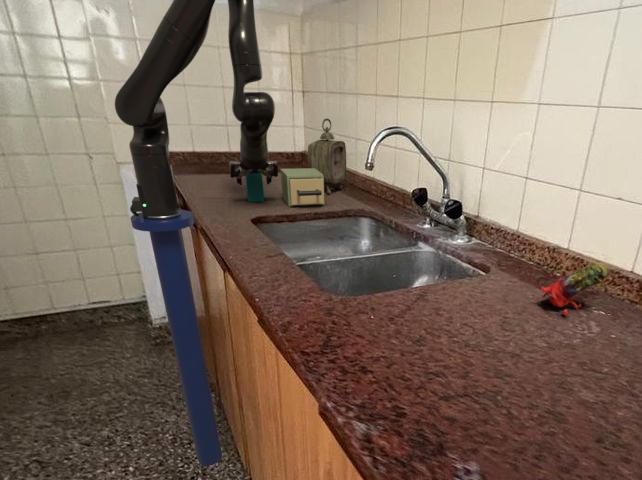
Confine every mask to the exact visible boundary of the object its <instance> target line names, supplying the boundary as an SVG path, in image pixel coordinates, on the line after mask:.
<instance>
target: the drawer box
mask: <svg viewBox="0 0 642 480" xmlns="http://www.w3.org/2000/svg"><path fill="white" fill-rule="evenodd" d="M289 178H323V186H324V175H323V174H322V173H320V172H319V171H318V170H316V169H315V168H308V167H307V168H305V167H304V168H302V167H301V168H280V181H281V193H282V199H283V201H284V202H285V203H286V204H287V206H288V207H290V208H291V207H308V206H309V207H310V206H311V207H312V206H313V207H314V206H325V205H326V203H325V202H326V201H325V200H324V204H305V205H291V197H290V182H289ZM324 187H325V186H324Z"/></svg>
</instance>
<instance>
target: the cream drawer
mask: <svg viewBox="0 0 642 480" xmlns="http://www.w3.org/2000/svg"><path fill="white" fill-rule="evenodd" d="M289 182H290V197H291V205H305V204H324V203H325V202H324V201H325V190H324V187H325V186H323V178H289Z"/></svg>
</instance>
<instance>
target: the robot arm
mask: <svg viewBox="0 0 642 480" xmlns="http://www.w3.org/2000/svg"><path fill="white" fill-rule="evenodd" d="M215 3H216V0H172V1H171V4H170V6H169V7H168V9H167V11H166V12H165V14H164V16H163V17H162V19H161V21H160V23H159V24H158V26H157V28H156V29H155V32H154V34H153V36H152V38H151V40H150V42H149V43H148V45H147V47H146V49H145V50H144V52H143V55H142V57H141V59H140V60H139V62H138V64H137V66H136V67H135V69H134V70H133V72H132V73H131V74H130V75H129V77H128V78H127V80H125V82H124V83H123V85H122V86H121V87H120V89H119V90H118V92H117V93H116V95H115V98H114V110H115V113H116V115H117V117H118V118H119V120H120V121H121V122H122V123H124V124H125V125H128V126H130V127H132V129H133V133H132V134H133V135H132V138H131V140H130V141H129V150H130V156H131V160H132V165H133V169H134V170H133V171H134V174H135V175H134V176H135V179H136V184H135V185H136V186H135V187H136V191H137V196H133V198H132V200H131V205H130V206H129V210H130V212H131V214H132V215H135V216H136V217H137V216H139V214H138V213H140V212H142V214H143V219H152V220H164V219H172V218H176V217H179V216H180V215H181V214H180V211H179V209H181V206H180V203H179V200H178V194H177V189H176V184H175V183H176V182H175V177H174V173H173V172H174V171H173V167H172V166H173V165H172V161H171V157H170V156H171V155H170V150H169V145H170V132H169V131H170V130H169V125H168V117H167V111H166V108H165V104H164V102H163V100H162V97H161V96H162V95H163V93H164V91H165V89H166V88H167V87H168V85H169V84H170V83H171V82H172V81H173V80H174V79H176V78H177V77H178V76H179V75H180V74H181V73H182V72H183V71H184V70H185V69H186V68H187V67H189V65H190V64H191V63H192V62H193V61H194V59H195V57H196V56H197V55H198V53H199V52H200V49H201V47H202V46H203V44H204V42H205V41H206V39H207V35H208V31H209V27H210V22H211V17H212V13H213V8H214V6H215ZM227 5H228V30H227V31H228V32H227V33H228V35H227V37H228V40H227V41H228V49H229V56H230V62H231V66H232V76H233V87H232V89H233V91H232V98H231V112H232V114H233V116H234V117H235V119H236V121H238V122H240V126H239V130H240V131H239V132H240V139H239V140H240V141H239V147H240V148H239V152H240V160H238V161H237V160H236V161H235V160H234V158H230V159H229V165H228V167H229V168H228V171H229V176H230V178H232V179H233V178H235V179H236V184H237V185H238V184H239V186H242V185H243V183H242V182H243V181H242V179H243V177H245V176H246V175H247V174H248V173H249V174H252V173H261V174H262V176H264V177H265V180H266V185H270V184H271V183H272V180H273V179H272V178H273V177H276V178H277V177H279V169H278V168H279V167H278V160H277V158H272V160H268V153H269V152H268V151H269V148H268V131H269V128H270V126H271V125H272V123H273V121H274V118H275V115H276V114H275V113H276V104H275V100H274V99H273V97H272V96H271V95H270V94H269V93H268V92H264V91H257V92H256V91H245V87H246V85H248V84H251V83H255V82H259V81H261V80H262V79H263V68H262V60H261V55H260V49H259V42H258V35H257V34H258V33H257V27H256V18H255V3H254V0H227ZM269 167H270V168H269ZM271 169H272V170H271Z"/></svg>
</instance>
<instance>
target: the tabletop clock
mask: <svg viewBox="0 0 642 480" xmlns="http://www.w3.org/2000/svg"><path fill="white" fill-rule="evenodd" d="M327 121H328V122H329V127H328V126H325V127H324V125H325V122H327ZM321 128H322V130H323V131H324V132H322V133H321V134H320V137H319V139H317V140H315V141H312V142H311V143H309V144H308V145H307V168H315V169H316V170H318V171H319V172H320V173H322V174H323V175H324V191H326V194H327V195H331V194H332V190H330V186H329V185H330V184H332V185H336V184H337V186H338V189H339V190H342V189H343V185H342V184H340V183H342V182H343V181H345V179H346V175H347V147H346V143H345V141H343V140H335V136H334V134H333V133H332V132H330V131H331V129H332V120H331V119H329V118H324V119H323V120H322V123H321ZM325 186H326V187H325Z"/></svg>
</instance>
